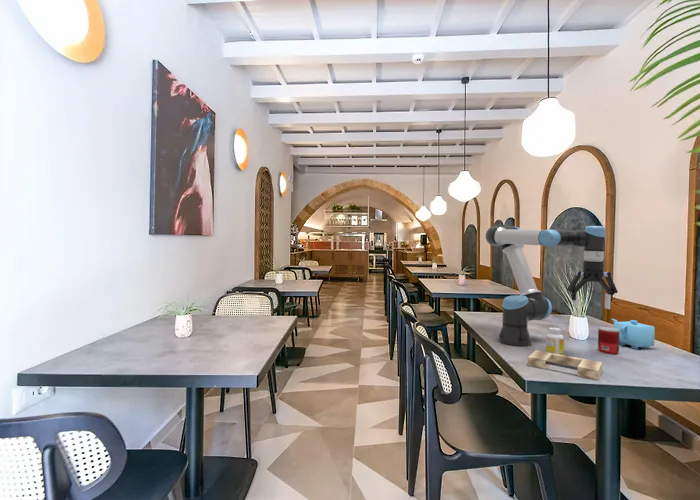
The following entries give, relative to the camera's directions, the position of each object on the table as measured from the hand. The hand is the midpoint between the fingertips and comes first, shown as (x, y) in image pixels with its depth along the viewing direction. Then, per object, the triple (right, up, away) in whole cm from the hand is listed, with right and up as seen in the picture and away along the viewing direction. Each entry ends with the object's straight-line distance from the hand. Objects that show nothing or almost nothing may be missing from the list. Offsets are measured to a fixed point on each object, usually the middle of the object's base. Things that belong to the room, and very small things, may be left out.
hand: (591, 308), depth 162 cm
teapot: (+33, -22, +22) cm, 45 cm away
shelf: (-21, -22, -15) cm, 34 cm away
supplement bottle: (-17, -22, -1) cm, 28 cm away
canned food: (+13, -22, +8) cm, 27 cm away
